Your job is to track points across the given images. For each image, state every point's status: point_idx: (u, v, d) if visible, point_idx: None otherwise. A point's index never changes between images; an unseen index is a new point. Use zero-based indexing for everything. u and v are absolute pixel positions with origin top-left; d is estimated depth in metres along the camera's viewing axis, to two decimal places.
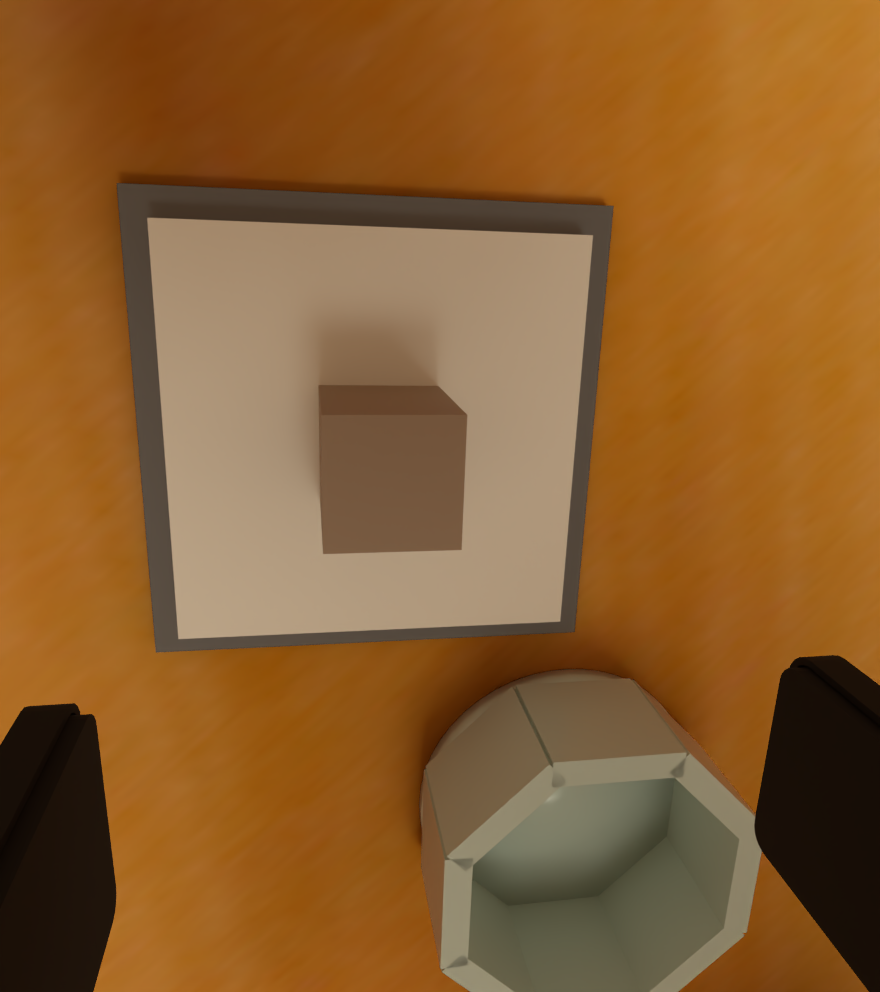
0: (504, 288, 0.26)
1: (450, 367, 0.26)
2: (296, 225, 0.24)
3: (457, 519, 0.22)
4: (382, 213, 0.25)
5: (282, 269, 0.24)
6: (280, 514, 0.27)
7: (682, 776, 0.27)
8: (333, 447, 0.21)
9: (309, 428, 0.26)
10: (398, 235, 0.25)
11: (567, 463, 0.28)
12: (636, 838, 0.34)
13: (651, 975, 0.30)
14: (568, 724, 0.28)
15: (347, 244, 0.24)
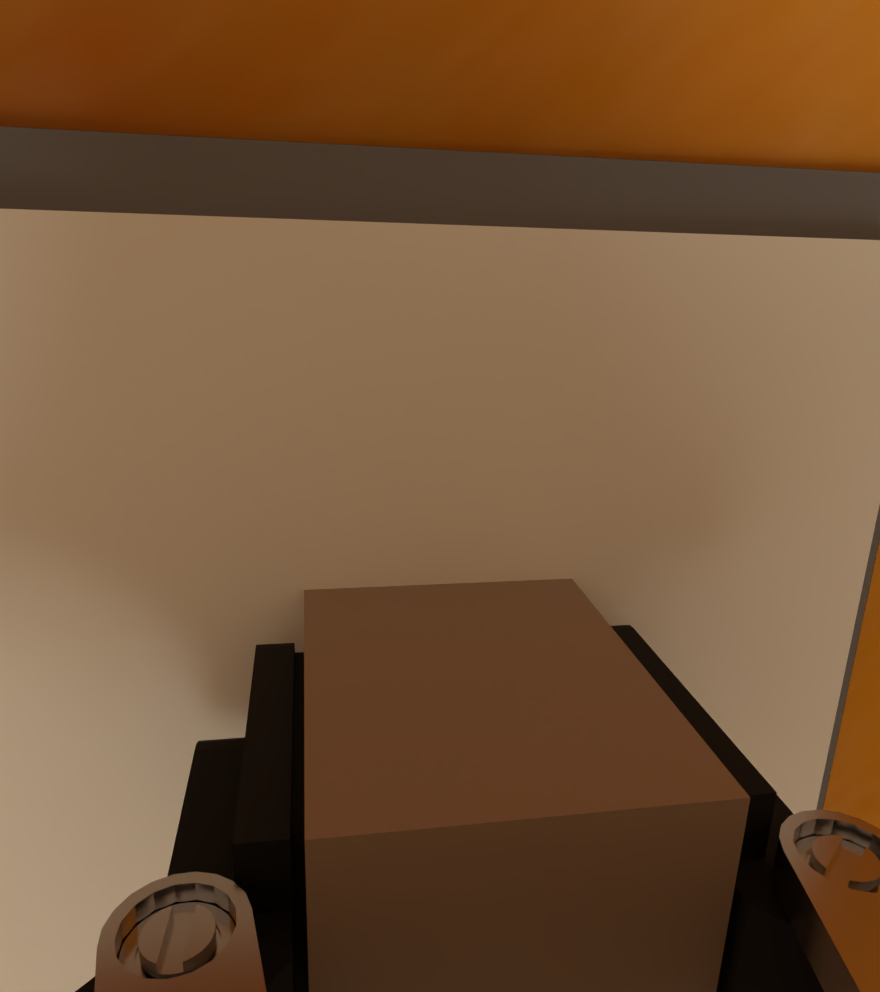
0: (729, 364, 0.11)
1: (599, 539, 0.12)
2: (244, 222, 0.10)
3: None
4: (452, 193, 0.11)
5: (212, 331, 0.10)
6: None
7: None
8: (344, 922, 0.07)
9: None
10: (495, 245, 0.10)
11: (824, 714, 0.13)
12: None
13: None
14: None
15: (372, 268, 0.10)
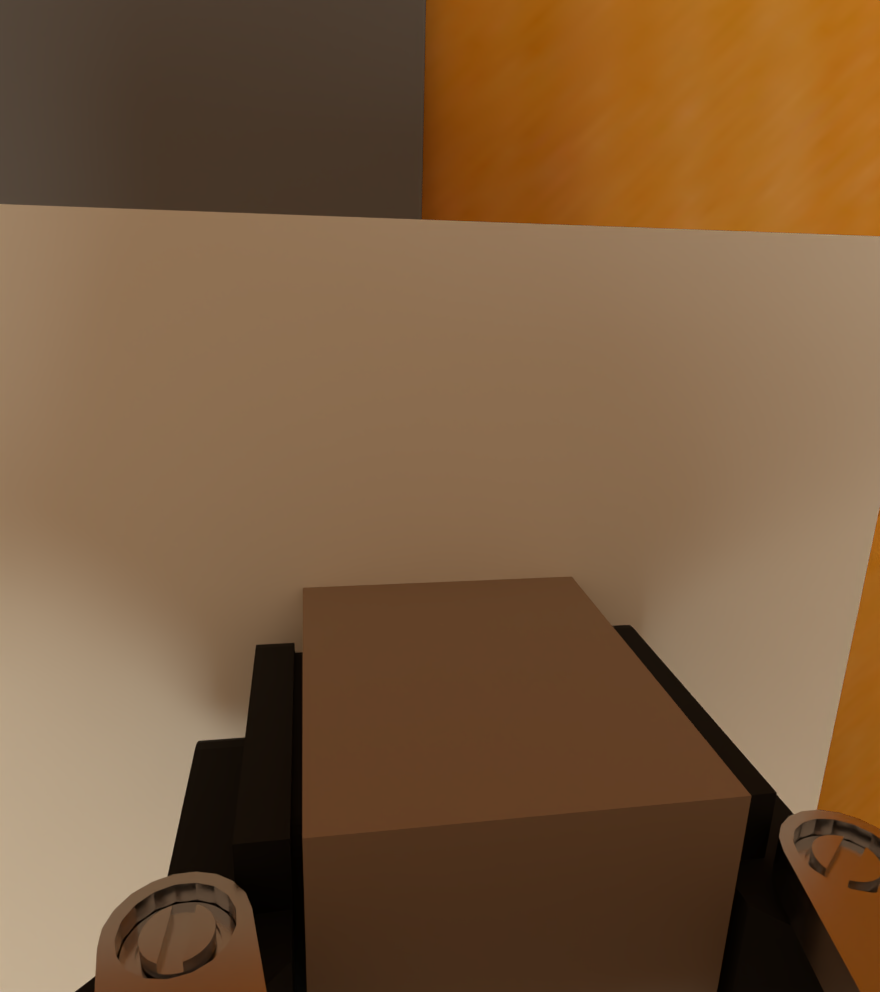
0: (730, 361, 0.11)
1: (599, 538, 0.12)
2: (242, 217, 0.09)
3: None
4: None
5: (211, 328, 0.10)
6: None
7: None
8: (342, 921, 0.07)
9: None
10: (494, 241, 0.10)
11: (825, 713, 0.13)
12: None
13: None
14: None
15: (370, 264, 0.10)
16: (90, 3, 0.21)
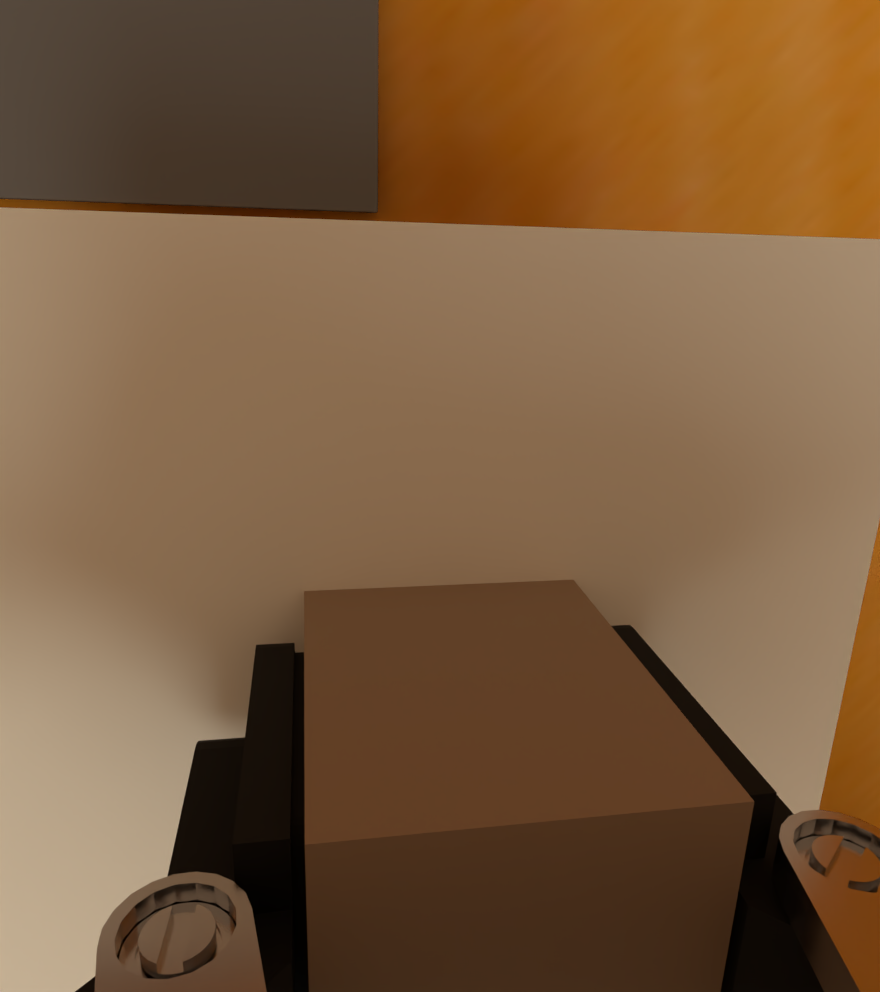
0: (732, 363, 0.11)
1: (601, 541, 0.12)
2: (244, 221, 0.09)
3: None
4: None
5: (212, 332, 0.10)
6: None
7: None
8: (344, 927, 0.07)
9: None
10: (496, 244, 0.10)
11: (826, 716, 0.13)
12: None
13: None
14: None
15: (372, 267, 0.10)
16: None
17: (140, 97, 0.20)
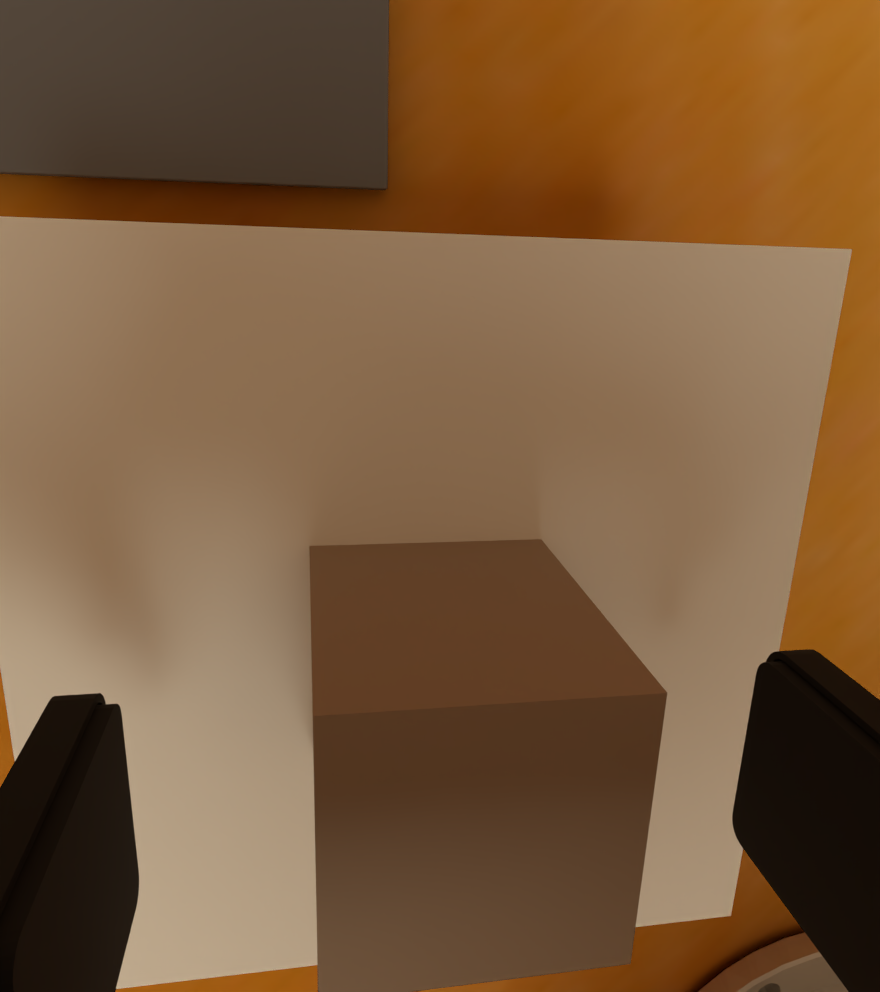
0: (675, 353, 0.13)
1: (565, 505, 0.13)
2: (261, 230, 0.11)
3: (626, 908, 0.10)
4: None
5: (233, 323, 0.12)
6: (237, 778, 0.14)
7: None
8: (342, 785, 0.09)
9: (292, 625, 0.13)
10: (473, 250, 0.12)
11: None
12: None
13: None
14: None
15: (368, 269, 0.12)
16: None
17: (81, 37, 0.16)
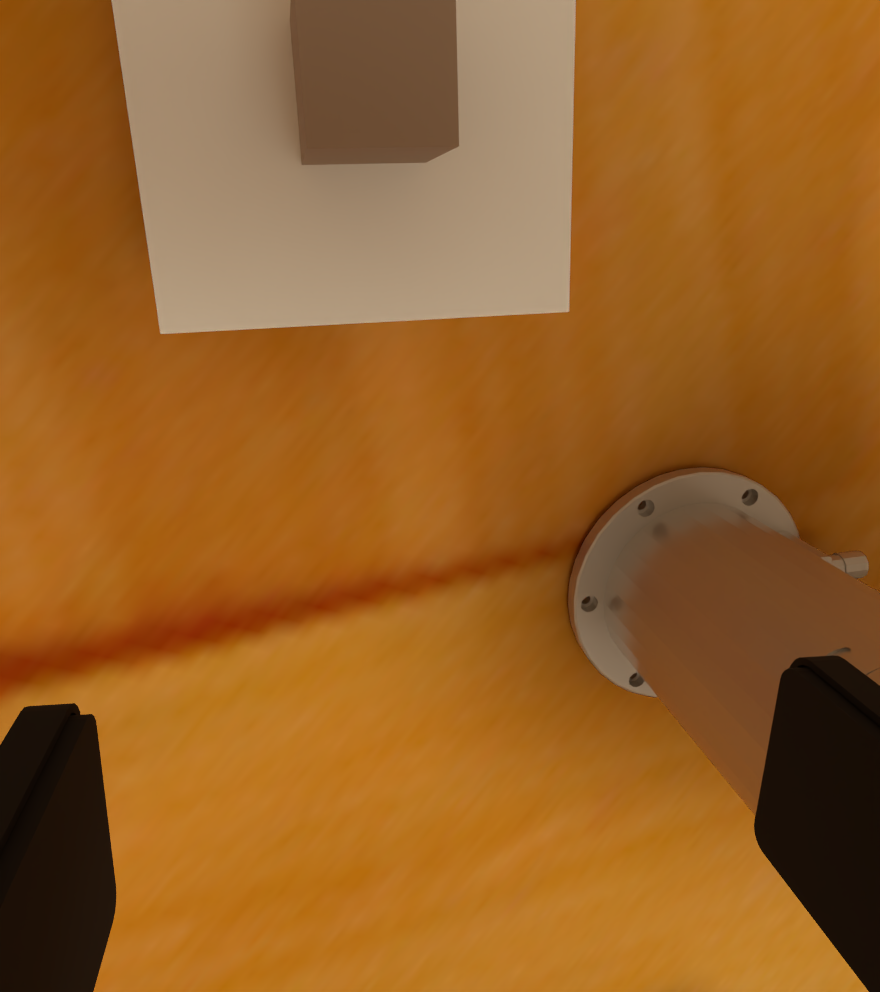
0: None
1: None
2: None
3: (452, 106, 0.20)
4: None
5: None
6: (259, 181, 0.24)
7: None
8: (308, 10, 0.19)
9: (283, 74, 0.24)
10: None
11: (566, 119, 0.26)
12: None
13: None
14: None
15: None
16: None
17: None
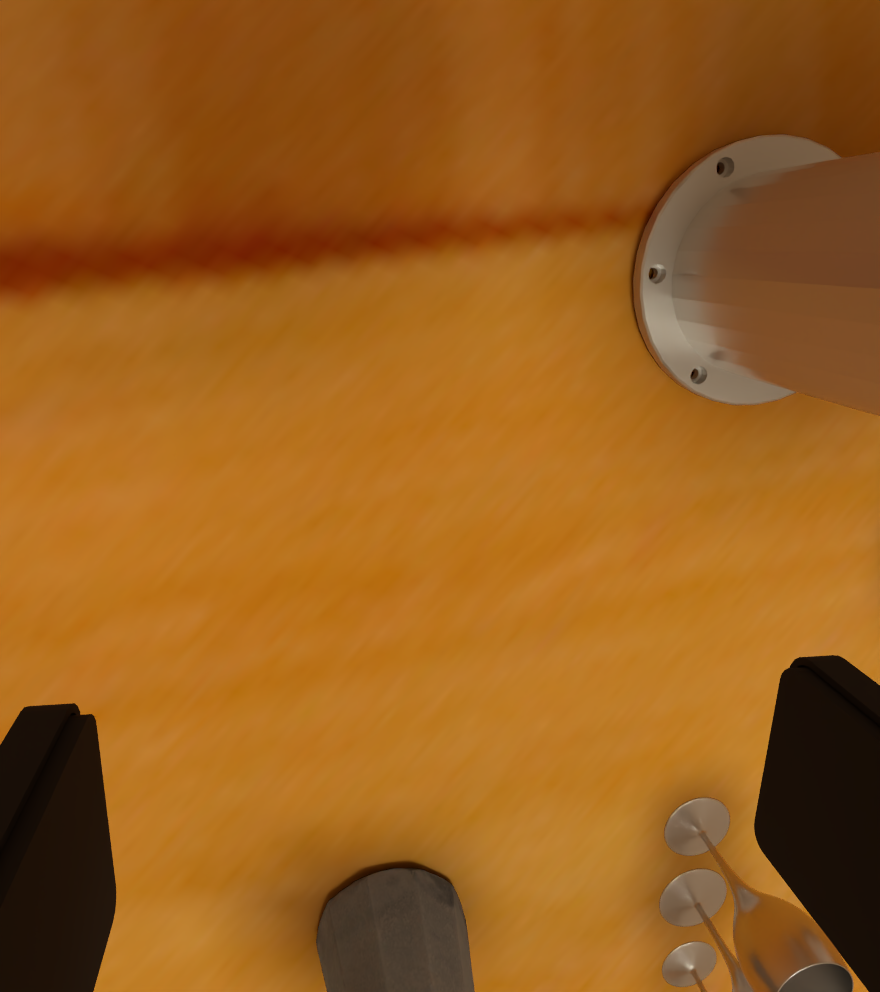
0: None
1: None
2: None
3: None
4: None
5: None
6: None
7: None
8: None
9: None
10: None
11: None
12: None
13: None
14: None
15: None
16: None
17: None
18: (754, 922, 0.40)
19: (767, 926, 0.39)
